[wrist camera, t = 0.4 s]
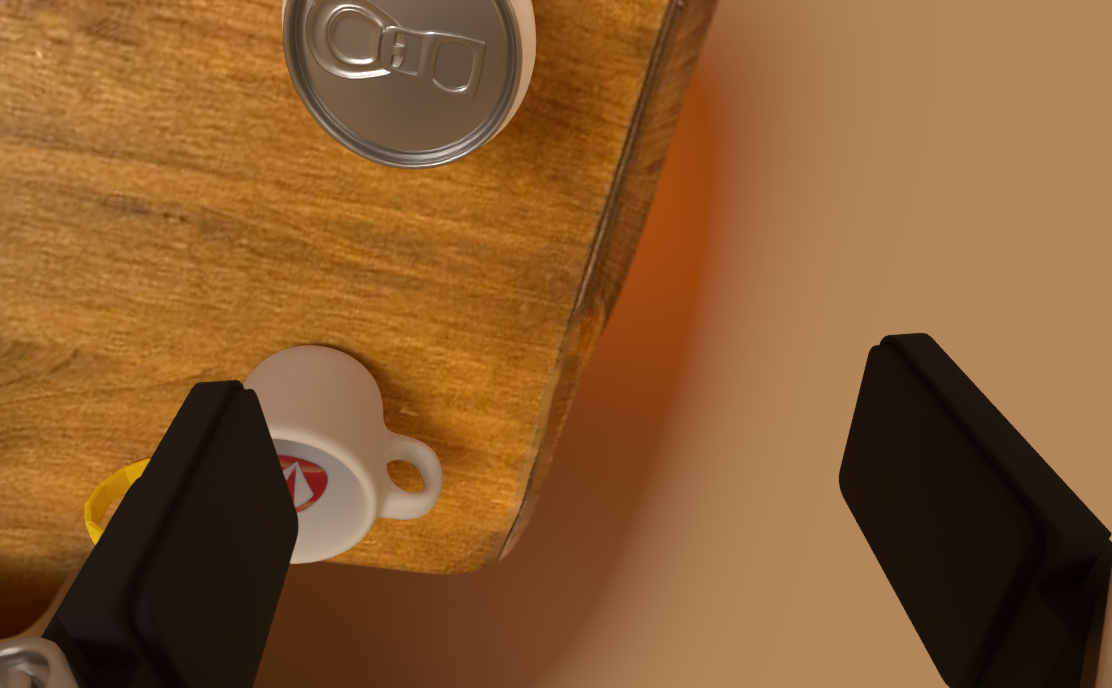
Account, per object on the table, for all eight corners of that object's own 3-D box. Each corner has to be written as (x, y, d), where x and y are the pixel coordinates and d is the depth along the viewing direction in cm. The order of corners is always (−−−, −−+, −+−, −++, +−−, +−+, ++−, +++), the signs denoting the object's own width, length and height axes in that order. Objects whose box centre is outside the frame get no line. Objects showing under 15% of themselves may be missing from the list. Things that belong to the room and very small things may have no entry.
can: (362, -143, 25) (271, -147, 15) (544, -85, 26) (573, -53, 16) (341, 50, 28) (255, 152, 18) (503, 92, 29) (506, 210, 19)
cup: (472, 369, 37) (467, 480, 30) (423, 475, 41) (408, 594, 34) (256, 301, 34) (197, 407, 27) (225, 423, 38) (167, 543, 31)
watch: (228, 447, 39) (188, 533, 34) (237, 485, 40) (200, 572, 35) (110, 446, 38) (53, 533, 33) (124, 484, 40) (71, 573, 35)
